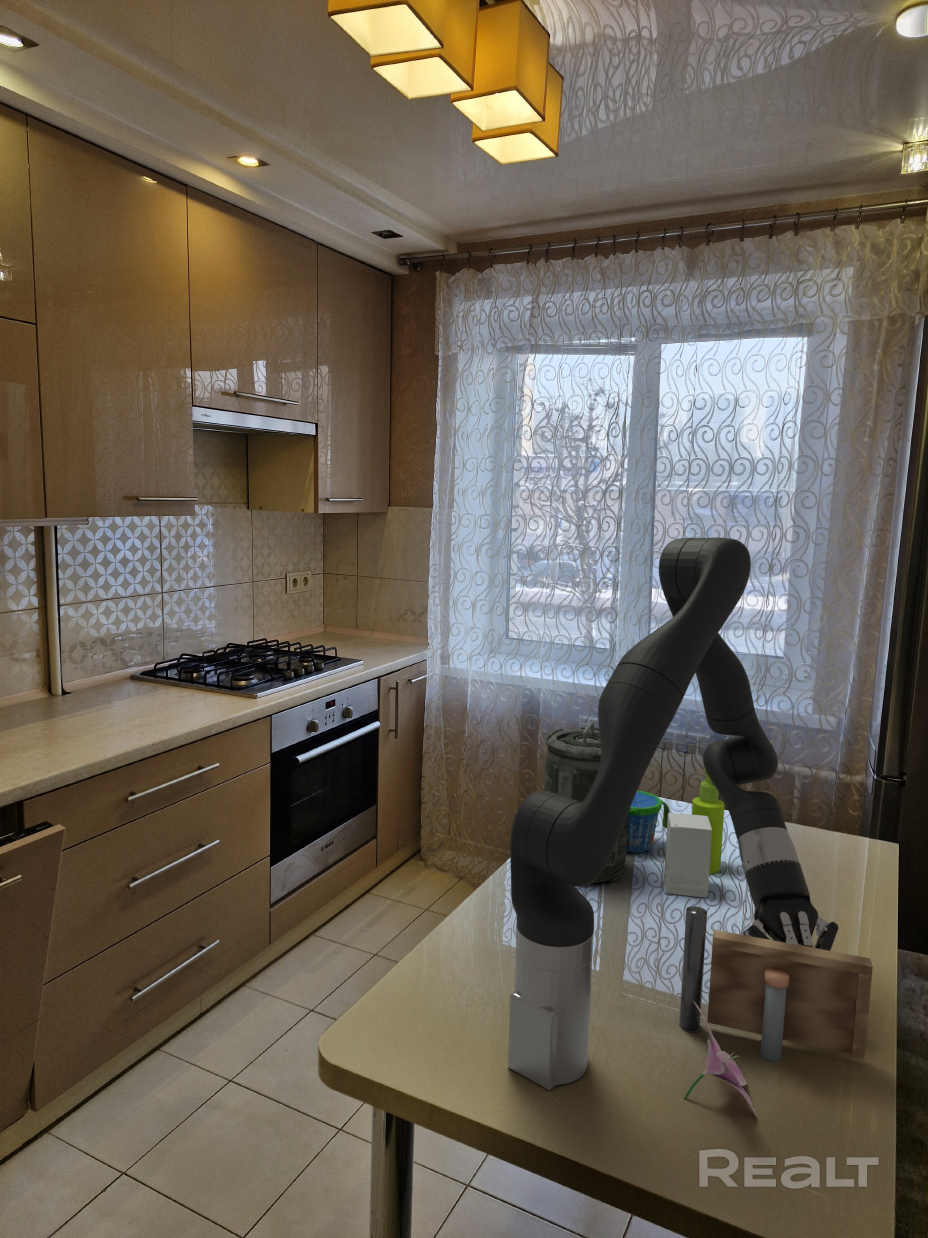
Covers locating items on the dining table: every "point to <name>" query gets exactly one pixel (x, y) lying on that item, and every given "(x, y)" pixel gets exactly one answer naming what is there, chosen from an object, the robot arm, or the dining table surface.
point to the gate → (792, 991)
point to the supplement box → (687, 855)
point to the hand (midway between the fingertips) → (811, 1002)
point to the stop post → (774, 1013)
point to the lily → (721, 1066)
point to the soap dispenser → (711, 819)
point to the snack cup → (644, 821)
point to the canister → (581, 780)
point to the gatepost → (693, 968)
